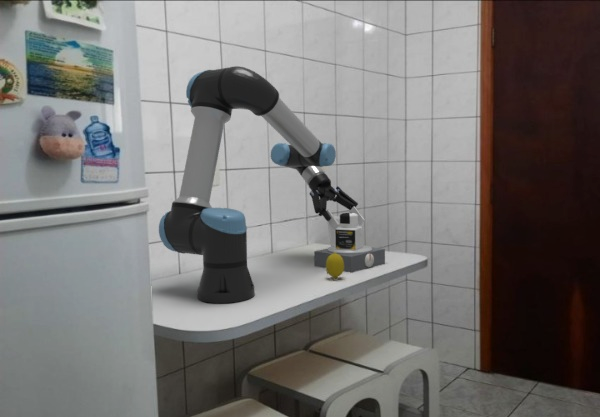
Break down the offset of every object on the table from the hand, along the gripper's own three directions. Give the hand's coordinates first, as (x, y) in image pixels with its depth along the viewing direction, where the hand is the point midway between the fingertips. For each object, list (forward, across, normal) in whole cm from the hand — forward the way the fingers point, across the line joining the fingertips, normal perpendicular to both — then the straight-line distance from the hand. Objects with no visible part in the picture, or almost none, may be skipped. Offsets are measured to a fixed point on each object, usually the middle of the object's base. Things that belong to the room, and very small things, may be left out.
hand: (349, 224), depth 181 cm
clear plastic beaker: (-5, -18, -24) cm, 31 cm away
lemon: (+17, +19, -2) cm, 26 cm away
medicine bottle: (+6, +1, -6) cm, 8 cm away
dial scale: (+10, 0, -9) cm, 14 cm away
